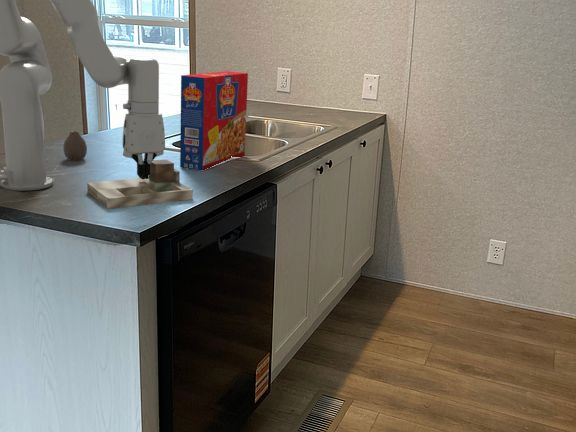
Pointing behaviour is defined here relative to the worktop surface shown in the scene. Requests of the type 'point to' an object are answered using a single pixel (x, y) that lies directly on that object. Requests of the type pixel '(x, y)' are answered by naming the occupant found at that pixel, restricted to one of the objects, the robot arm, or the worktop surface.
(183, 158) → the pasta box
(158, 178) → the walnut block
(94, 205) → the worktop surface
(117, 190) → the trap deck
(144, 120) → the robot arm
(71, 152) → the vase
